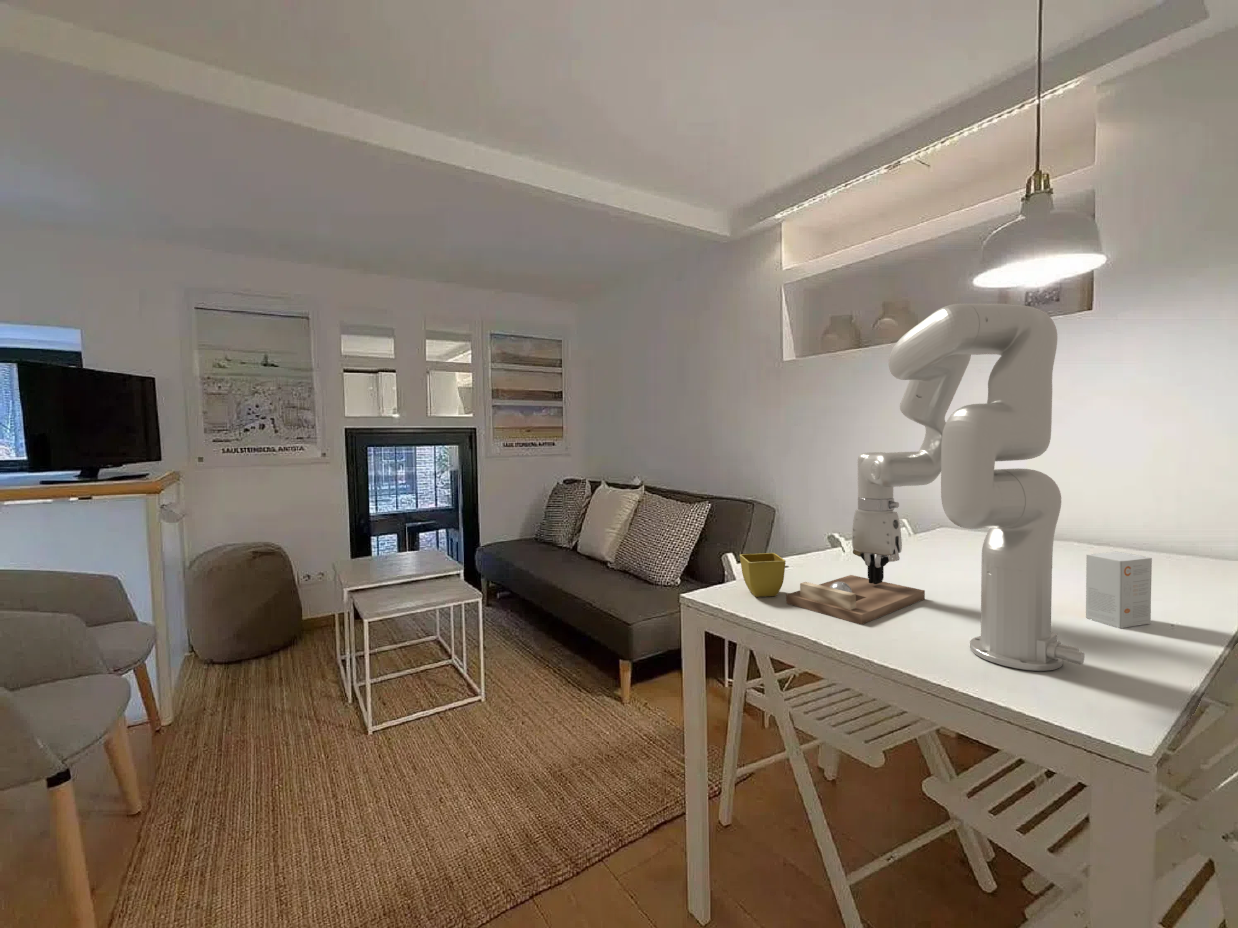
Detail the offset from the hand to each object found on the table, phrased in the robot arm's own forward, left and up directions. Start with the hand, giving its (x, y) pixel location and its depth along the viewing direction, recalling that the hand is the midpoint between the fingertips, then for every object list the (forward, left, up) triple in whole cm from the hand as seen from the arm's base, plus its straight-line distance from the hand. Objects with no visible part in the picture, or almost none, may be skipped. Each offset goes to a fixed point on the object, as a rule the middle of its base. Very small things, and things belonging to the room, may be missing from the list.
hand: (875, 582), depth 127 cm
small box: (-39, -18, -3) cm, 43 cm away
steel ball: (+1, +13, 0) cm, 13 cm away
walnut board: (0, +8, -3) cm, 9 cm away
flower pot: (+17, +20, -3) cm, 26 cm away
